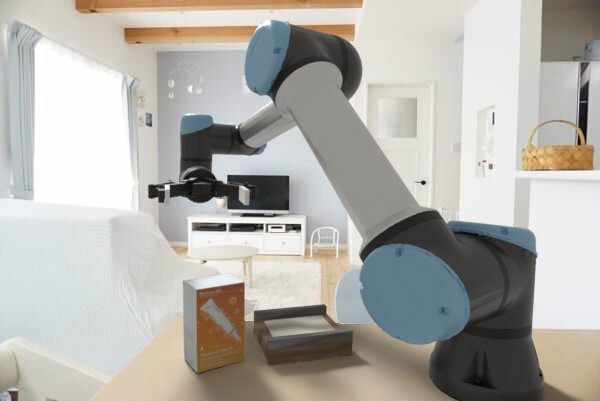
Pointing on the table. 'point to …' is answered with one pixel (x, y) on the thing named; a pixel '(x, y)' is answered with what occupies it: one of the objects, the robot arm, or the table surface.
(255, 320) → the tray
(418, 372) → the table surface
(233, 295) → the small box
